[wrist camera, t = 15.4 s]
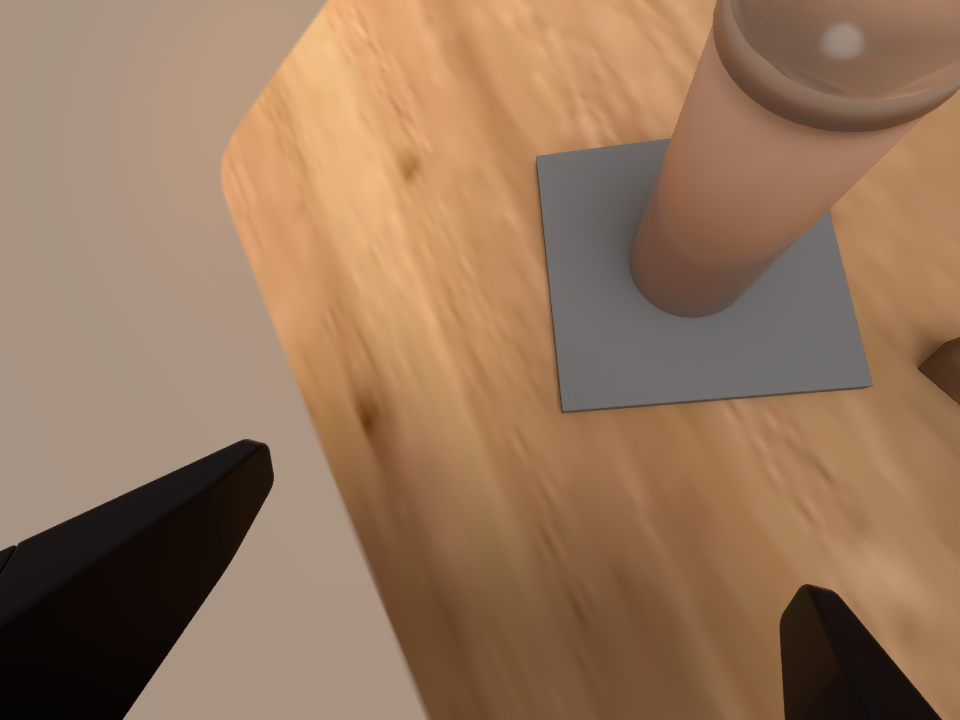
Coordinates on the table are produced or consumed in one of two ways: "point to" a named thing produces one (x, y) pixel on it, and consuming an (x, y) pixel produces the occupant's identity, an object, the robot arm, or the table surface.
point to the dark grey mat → (673, 339)
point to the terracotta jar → (783, 134)
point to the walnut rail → (945, 368)
